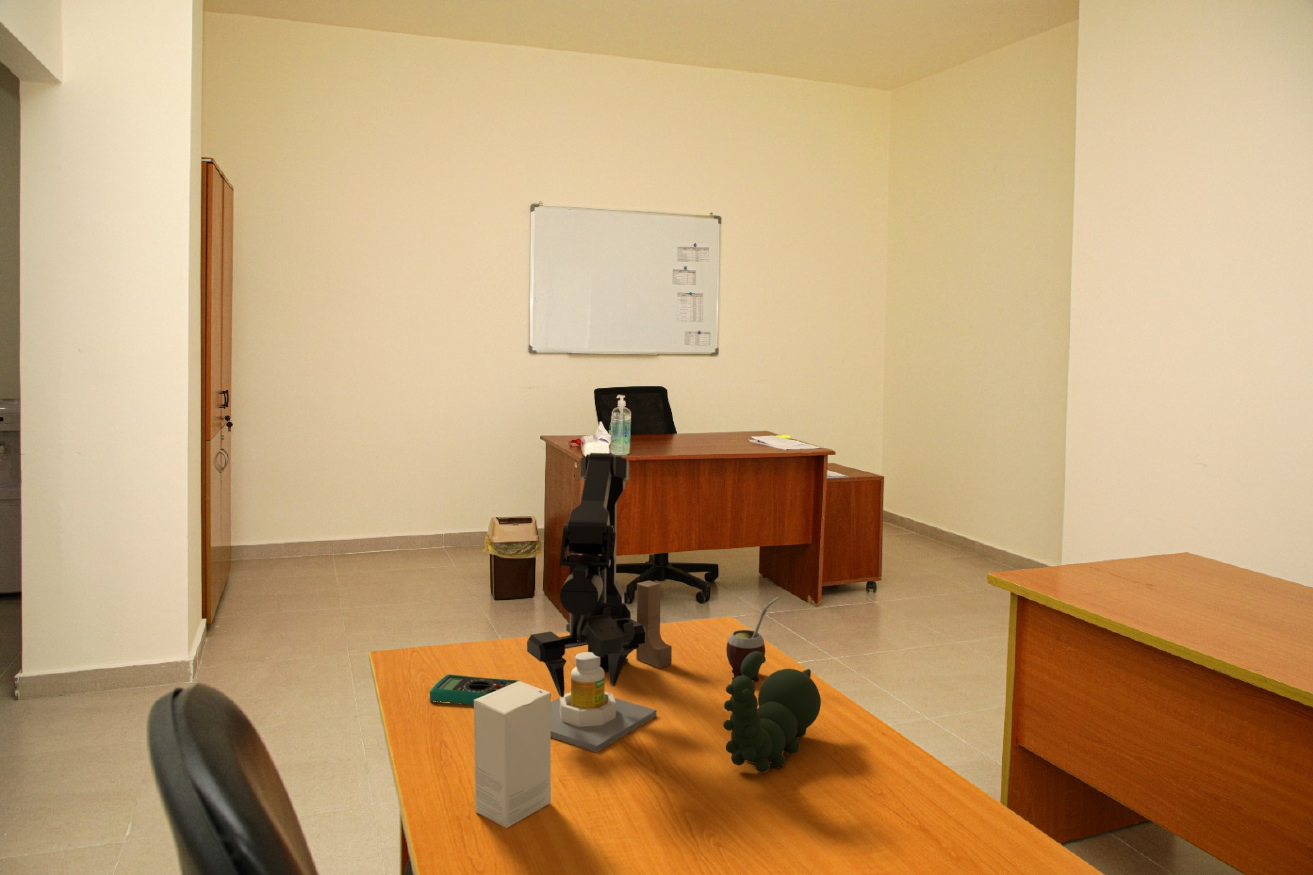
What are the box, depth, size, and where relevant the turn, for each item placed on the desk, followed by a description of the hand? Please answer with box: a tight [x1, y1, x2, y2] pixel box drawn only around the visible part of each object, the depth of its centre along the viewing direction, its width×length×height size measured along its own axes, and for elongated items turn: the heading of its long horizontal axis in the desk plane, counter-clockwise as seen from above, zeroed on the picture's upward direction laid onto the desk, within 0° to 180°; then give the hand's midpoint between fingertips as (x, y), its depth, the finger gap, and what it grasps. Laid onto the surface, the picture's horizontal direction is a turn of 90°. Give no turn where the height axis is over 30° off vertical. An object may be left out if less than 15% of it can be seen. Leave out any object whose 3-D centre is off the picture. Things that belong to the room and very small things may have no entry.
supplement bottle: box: [570, 651, 606, 709], centre depth 145 cm, size 5×5×10 cm
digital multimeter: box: [429, 673, 522, 706], centre depth 155 cm, size 7×15×3 cm, turn 80°
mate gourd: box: [725, 597, 779, 683], centre depth 165 cm, size 8×8×15 cm
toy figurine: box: [723, 651, 822, 773], centre depth 135 cm, size 9×19×25 cm
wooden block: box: [635, 580, 673, 669], centre depth 172 cm, size 7×3×15 cm, turn 43°
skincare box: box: [473, 680, 552, 829], centre depth 118 cm, size 8×7×16 cm
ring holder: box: [550, 691, 657, 753], centre depth 146 cm, size 16×16×4 cm
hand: (587, 690), depth 145 cm, fingers open, 9 cm apart
